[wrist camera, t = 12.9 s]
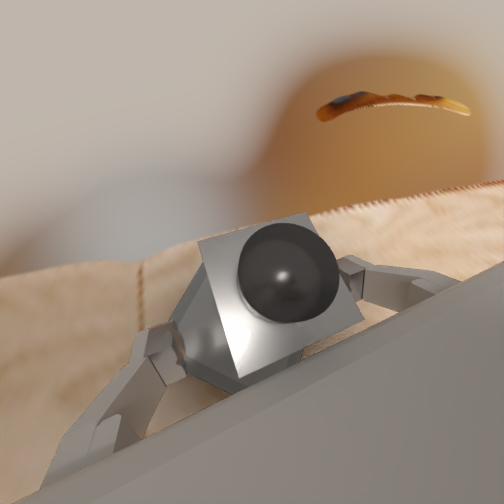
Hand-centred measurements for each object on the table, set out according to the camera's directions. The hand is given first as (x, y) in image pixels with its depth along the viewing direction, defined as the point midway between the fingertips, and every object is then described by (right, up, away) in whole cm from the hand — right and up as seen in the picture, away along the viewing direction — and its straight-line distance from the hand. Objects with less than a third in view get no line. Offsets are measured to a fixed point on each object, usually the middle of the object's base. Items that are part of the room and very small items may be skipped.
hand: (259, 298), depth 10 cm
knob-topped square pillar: (-1, -3, +8) cm, 9 cm away
